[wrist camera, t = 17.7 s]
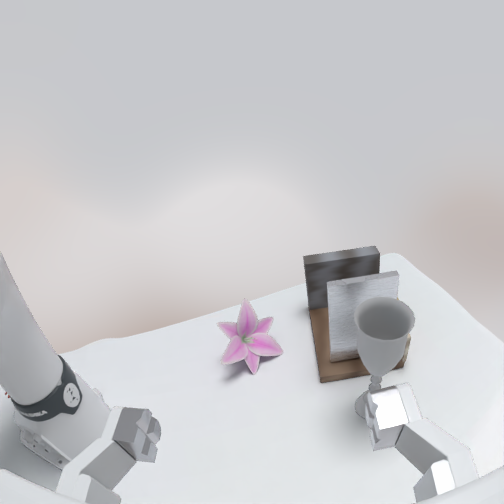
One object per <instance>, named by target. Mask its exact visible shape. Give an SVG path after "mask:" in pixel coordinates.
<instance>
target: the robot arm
mask: <svg viewBox="0 0 504 504" xmlns="http://www.w3.org/2000/svg"><path fill="white" fill-rule="evenodd" d="M0 385H1V386H2V387H3V389H4V390H5V391H6V393H5V395H6V394H7V393H8V394H9V395H8V398H10V397H11V400H12V402H13V404H14V406H15V411H14V422H15V423H16V425H17V426H18V427H19V428H20V429H21V431H20V441H21V443H22V444H23V445H24V446H26V447H27V448H29V449H30V450H31V451H33V452H34V453H36V454H37V455H39V456H40V457H42V458H43V459H45V460H46V461H48V462H49V463H51V464H52V465H54V466H56V467H57V468H59V469H61V470H62V474H61V476H60V479H59V482H58V485H57V488H56V491H52V490H50V489H47V488H45V487H42V486H40V485H38V484H36V483H33V482H31V481H29V480H27V479H25V478H22V477H20V476H18V475H16V474H14V473H12V472H10V471H8V470H6V469H0V504H120V503H121V498H120V496H119V495H117V494H116V493H114V492H112V489H113V488H114V487H115V486H116V485H117V484H118V483H119V482H120V480H121V479H122V478H123V477H124V476H125V475H126V474H127V472H128V471H129V470H130V469H131V468H132V467H133V466H134V464H135V463H136V461H142V462H153V463H155V458H156V454H157V450H158V449H157V447H156V445H155V444H156V443H157V442H158V441H159V440H160V436H161V427H160V424H159V422H158V421H157V419H155V418H153V417H151V415H152V413H151V412H150V410H149V409H141V408H127V407H116V406H114V407H113V408H112V409H111V410H110V408H109V407H108V406H107V405H106V404H105V403H104V402H103V399H102V395H101V393H100V392H99V391H98V390H97V389H92V388H91V387H90V386H89V385H88V384H87V383H86V382H85V381H84V380H83V379H82V377H81V376H80V375H79V374H78V373H77V372H76V371H72V370H71V368H70V366H69V365H68V363H67V362H65V361H64V359H63V358H62V357H61V356H59V355H57V353H56V352H55V350H54V349H53V347H52V346H51V344H50V343H49V341H48V340H47V338H46V337H45V335H44V334H43V332H42V330H41V329H40V327H39V326H38V324H37V322H36V321H35V319H34V317H33V315H32V314H31V312H30V310H29V308H28V307H27V304H26V302H25V301H24V299H23V297H22V295H21V293H20V291H19V289H18V287H17V285H16V283H15V281H14V279H13V277H12V275H11V273H10V271H9V269H8V267H7V264H6V262H5V260H4V258H3V255H2V253H1V252H0ZM367 398H368V402H367V403H366V408H365V413H366V421H367V426H368V427H369V428H371V433H370V439H371V444H372V448H373V451H375V450H380V449H384V448H389V447H393V446H395V448H396V449H397V450H398V451H399V452H400V453H401V454H402V455H403V456H405V457H406V458H407V459H408V460H409V461H410V462H411V463H412V464H413V465H414V466H415V467H416V468H417V469H418V470H419V471H420V472H421V473H422V474H424V475H423V476H422V478H421V479H420V480H419V481H418V482H417V484H416V485H415V486H414V487H413V488H414V493H415V497H416V502H417V503H413V504H504V466H502V467H500V468H498V469H496V470H494V471H492V472H490V473H488V474H486V475H484V476H482V477H480V478H479V475H478V472H477V469H476V466H475V463H474V460H473V457H472V454H471V451H470V448H468V447H467V446H465V445H464V444H463V443H461V442H460V441H458V440H457V439H455V438H454V437H453V436H451V435H450V434H448V433H447V432H446V431H444V430H443V429H442V428H440V427H439V426H437V425H436V424H435V423H433V422H432V421H430V420H429V419H428V418H422V415H421V412H420V409H419V406H418V404H417V401H416V398H415V396H414V393H413V390H412V388H411V385H410V384H409V383H403V384H400V385H396V386H391V387H387V388H382V389H378V390H374V391H370V392H368V395H367Z"/></svg>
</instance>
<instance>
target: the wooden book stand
mask: <svg viewBox="0 0 504 504" xmlns="http://www.w3.org/2000/svg"><path fill="white" fill-rule="evenodd" d="M303 258H304V267H305V276H306V286H307V296H308V306H309V312H310V318H311V324H312V330H313V336H314V342H315V349H316V355H317V361H318V368H319V375H320V382H321V383H323V382H330V381H336V380H342V379H348V378H354V377H359V376H364V375H370V373H369V371H368V370H367V369H366V367H365V366H364V364H363V362H362V360H361V358H360V357H358V358H352V359H347V360H341V361H334V362H331V360H330V341H329V313H328V292H327V282H328V281H335V280H342V279H348V278H354V277H361V276H367V275H373V274H379V266H380V253H379V251H378V250H377V248H376V246H370V247H363V248H356V249H350V250H343V251H336V252H329V253H322V254H315V255H308V256H304V257H303ZM410 340H411V336H410V334H409V333H408V337H407V342H406V347H405V351H404V355H403V357H402V358H401V360H400V361H399V362H398V363H397V365H396V366H395V367H394V368H393V369H398V368H402V367H403V366H404V362H405V361H406V358H407V354H408V349H409V345H410ZM393 369H392V370H393Z"/></svg>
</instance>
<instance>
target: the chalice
mask: <svg viewBox="0 0 504 504" xmlns="http://www.w3.org/2000/svg"><path fill="white" fill-rule="evenodd" d="M354 320H355V323H356V324H357V326H358V338H357V350H358V353H359V355H360V358H361V360H362V362H363V364H364V366H365V367H366V369H367V370H368V371H369V373H370V374H371V375H373V376H372V377H371V382H372V383H371V384H370V385H369V390H367V391H366V392H364V393H363V394H362V395H361V396H360V397H359V398H358V399H357V401H356V403H355V410H356V412H357V414H358V415H359V416H361V417H362V418H364V419H366V413H365V408H366V403H367V402H368V398H367V395H368V392H370V391H374V390H378V389H381V386H380V384H379V383H381V381H382V378H381V376H384V375H385V374H387V373H388V372H389V371H390V370H392V369H393V368H394V367H395V366H396V365H397V363H398V362H399V361H400V360H401V358H402V357H403V355H404V351H405V347H406V342H407V337H408V333H409V332H410V331H411V330H412V328H413V327H414V323H415V317H414V314H413V311H412V310H411V309H410V308H409V306H407V305H406V304H405V303H403V302H402V301H399V300H397V299H395V298H390V297H374V298H370V299H367V300H366V301H364V302H362V303H361V304H360V305H359V306H358V307H357V308H356V310H355V313H354Z"/></svg>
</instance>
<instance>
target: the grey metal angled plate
mask: <svg viewBox="0 0 504 504" xmlns="http://www.w3.org/2000/svg"><path fill="white" fill-rule="evenodd" d="M398 284H399V274H398V272H397V271H391V272H385V273H379V274H373V275H367V276H361V277H354V278H348V279H342V280H335V281H328V282H327V292H328V313H329V341H330V360H331V362H334V361H341V360H347V359H352V358H358V357H360V355H359V353H358V350H357V338H358V326H357V324H356V323H355V320H354V313H355V310H356V308H357V307H358V306H359V305H360V304H361V303H362V302H364V301H366V300H367V299H370V298H374V297H390V298H395V299H397V294H398Z"/></svg>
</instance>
